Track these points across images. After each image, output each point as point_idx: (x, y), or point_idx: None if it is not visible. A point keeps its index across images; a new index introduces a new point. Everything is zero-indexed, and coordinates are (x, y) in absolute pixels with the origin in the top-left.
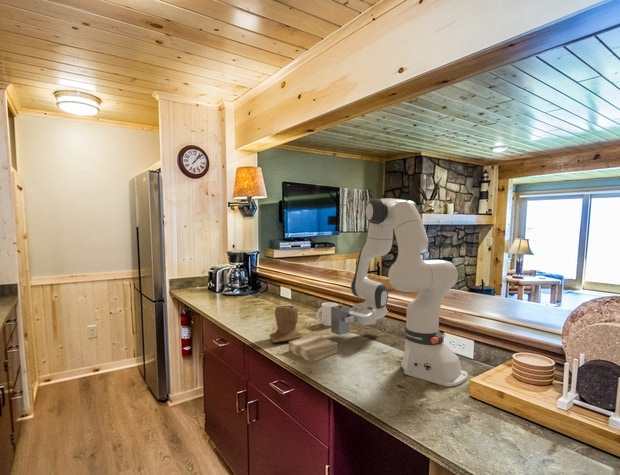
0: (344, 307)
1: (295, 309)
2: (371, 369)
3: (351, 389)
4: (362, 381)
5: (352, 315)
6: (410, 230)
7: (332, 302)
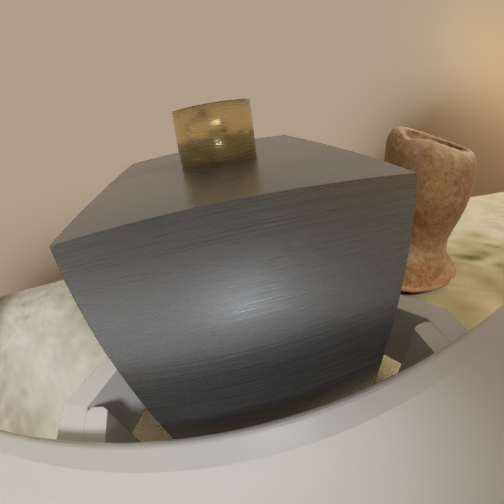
0: (115, 185)
1: (418, 150)
2: (17, 383)
3: (30, 303)
4: (20, 331)
5: (104, 446)
6: None
7: None
